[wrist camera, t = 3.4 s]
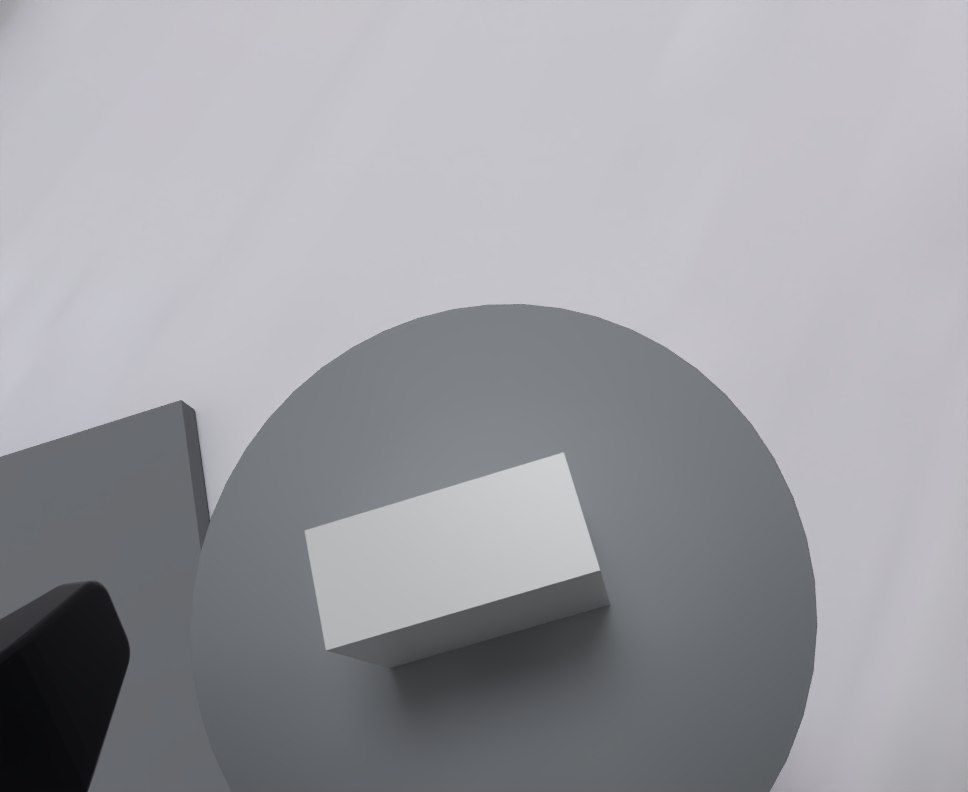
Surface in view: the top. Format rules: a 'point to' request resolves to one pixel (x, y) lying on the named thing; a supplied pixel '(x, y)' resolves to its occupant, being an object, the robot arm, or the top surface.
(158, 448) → the charcoal mat
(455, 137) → the top surface
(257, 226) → the top surface
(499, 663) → the grey bottle
